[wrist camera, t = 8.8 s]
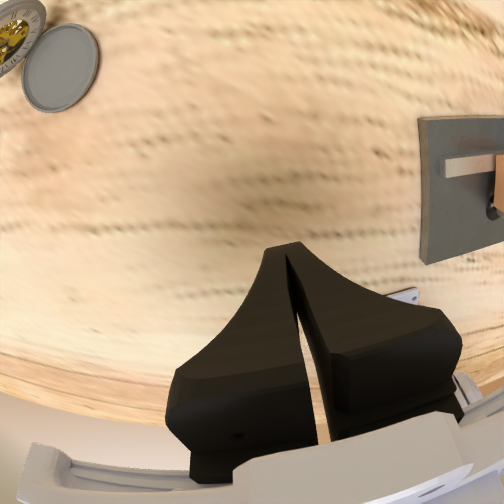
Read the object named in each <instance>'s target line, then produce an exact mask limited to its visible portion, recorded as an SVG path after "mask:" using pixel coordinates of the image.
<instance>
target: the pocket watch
mask: <svg viewBox="0 0 504 504" xmlns="http://www.w3.org/2000/svg"><path fill="white" fill-rule="evenodd" d="M17 20H22V22H21V23H20V24H19V25H18V26H17ZM45 20H46V9H45V7H44V5H43V4H42V3H41V2H40V1H39V0H9V1H7V2H4V3H3V4H1V5H0V78H1V77H2V76H3V75H5V74H6V73H8V72H9V71H10V70H11V69H13V68H14V67H15V66H16V65H17V64H18V63H19V62H20V61H21V60H22V59H23V58H25V61H24V65H23V69H22V78H21V81H22V88H23V91H24V94H25V97H26V99H27V100H28V102H29V103H30V104H31V105H32V107H34V108H35V109H37V110H38V111H41V112H45V113H54V112H60V111H62V110H64V109H67V108H69V107H70V106H72V105H74V104H75V103H76V102H77V101H78V100H80V99H81V98H82V96H83V95H84V94H85V93H86V92H87V90H88V88H89V87H90V85H91V84H92V81H93V79H94V76H95V74H96V70H97V65H98V59H99V58H98V47H97V44H96V41H95V39H94V37H93V35H92V34H91V33H90V32H89V31H88V30H87V29H85V28H84V27H82V26H80V25H78V24H72V23H71V24H61V25H58V26H55V27H52V28H51V29H49V30H48V31H46V32H45V33H43V34H42V33H41V32H42V30H43V27H44V25H45ZM11 22H13V23H12V24H11ZM8 23H9V24H10V26H8ZM15 24H16V26H17V27H15V28H14V29H12V28H13V26H14V25H15ZM7 26H8V27H7ZM19 26H21V27H22V28H21V29H18V27H19ZM3 27H4V28H3ZM16 30H19V31H18V32H17V33H16V34H15V31H16ZM5 31H6V32H5ZM7 31H8V32H7ZM20 31H21V32H20ZM19 32H20V33H19ZM14 34H15V35H14ZM6 46H7V48H6V51H5V52H2V49H4V48H5V47H6ZM2 47H3V48H2ZM1 53H2V54H1Z"/></svg>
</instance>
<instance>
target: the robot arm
mask: <svg viewBox="0 0 504 504" xmlns="http://www.w3.org/2000/svg"><path fill="white" fill-rule="evenodd" d="M414 296H415V297H414ZM413 297H414V298H413ZM418 298H419V291H418V289H417V288H412V289H409V290H405V291H402V292H399V293H395V294H392V295H388V296H384V295H381V294H378V293H376V292H373V291H371V290H369V289H366V288H364V287H362V286H360V285H358V284H356V283H354V282H352V281H350V280H348V279H347V278H345V277H343V276H342V275H340V274H339V273H337V272H336V271H334V270H333V269H332V268H330V267H329V266H328V265H326V264H325V263H324V262H322V261H321V260H320V259H319V258H318V257H316V256H315V255H314V254H313V253H312V252H311V251H310V250H308V249H307V248H306V247H305V246H304V245H303V244H302V243H301V242H299V241H298V242H294V243H289V244H285V245H280V246H276V247H271V248H267V249H266V250H265V251H264V255H263V259H262V263H261V266H260V269H259V271H258V273H257V276H256V278H255V281H254V283H253V285H252V287H251V289H250V291H249V293H248V295H247V296H246V298H245V300H244V302H243V303H242V305H241V306H240V308H239V309H238V311H237V312H236V314H235V315H234V316H233V318H232V319H231V320H230V321H229V323H228V324H227V325H226V326H225V328H224V329H223V330H222V331H221V332H220V333H219V334H218V335H217V336H216V337H215V338H214V339H213V340H212V341H211V342H210V343H209V344H208V345H207V346H206V347H204V348H203V349H202V350H201V351H200V352H199V353H197V354H196V355H195V356H193V357H192V358H191V359H189V360H188V361H187V362H186V363H184V364H183V365H182V366H180V367H179V368H177V369H176V371H175V374H174V378H173V380H172V383H171V387H170V391H169V396H168V402H167V408H166V414H165V421H166V425H167V427H168V428H169V430H170V431H171V432H172V433H173V434H174V435H175V436H176V437H177V438H178V439H179V440H180V441H181V442H182V443H183V444H184V445H185V446H186V447H187V448H188V449H189V450H190V451H191V457H190V471H181V470H180V471H179V470H151V469H138V468H126V467H117V466H110V465H102V464H96V463H89V462H84V461H78V460H73V459H71V458H70V457H69V456H68V455H67V454H65V453H64V452H62V451H61V450H59V449H57V448H55V447H52V446H48V445H43V444H39V443H35V442H34V443H32V444H31V447H30V450H29V453H28V456H27V459H26V463H25V466H24V469H23V472H22V476H21V479H20V482H19V486H18V490H17V494H16V499H17V500H19V501H20V502H22V503H24V504H504V488H503V485H502V482H501V480H500V476H501V475H503V474H504V386H503V387H501V388H500V389H498V390H496V391H494V392H492V393H491V394H489V395H487V396H485V397H483V396H482V394H481V392H480V391H479V389H478V387H477V385H476V383H475V382H474V380H473V379H472V377H471V376H470V375H469V374H468V373H467V372H463V371H462V372H461V371H460V370H457V371H456V372H455V373H453V372H454V370H455V368H456V365H457V363H458V360H459V357H460V355H461V350H462V346H463V344H462V338H461V336H460V335H459V333H458V332H457V330H456V329H455V327H454V326H453V324H452V323H451V322H450V320H449V319H448V318H447V317H446V316H445V315H444V313H443V312H442V311H441V310H440V309H436V308H430V307H425V306H420V305H418ZM297 314H298V317H299V319H300V322H301V325H302V328H303V331H304V334H305V336H306V339H307V342H308V345H309V348H310V351H311V354H312V357H313V360H314V363H315V367H316V371H317V376H318V380H319V385H320V390H321V394H322V399H323V404H324V409H325V413H326V418H327V423H328V428H329V434H330V439H331V442H330V443H326V444H322V445H319V444H318V438H317V430H316V424H315V417H314V411H313V405H312V399H311V393H310V387H309V381H308V376H307V372H306V367H305V362H304V358H303V354H302V350H301V345H300V338H299V328H298V319H297ZM452 375H453V377H454V379H455V380H454V379H453V377H452Z"/></svg>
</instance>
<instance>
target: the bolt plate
mask: <svg viewBox="0 0 504 504" xmlns="http://www.w3.org/2000/svg"><path fill="white" fill-rule="evenodd" d="M418 127H419V138H420V152H421V174H422V224H421V246H420V259H421V260H422V261H423V262H424V264H425V265H429V264H432V263H436V262H439V261H442V260H446V259H449V258H452V257H456V256H459V255H462V254H465V253H469V252H472V251H475V250H478V249H481V248H484V247H487V246H490V245H493V244H496V243H499V242H502V241H504V218H502V217H501V216H500V215H498V214H497V208H496V207H494V206H493V204H494V193H495V179H496V155H501V154H504V116H446V117H428V118H418Z"/></svg>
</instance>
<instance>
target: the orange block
mask: <svg viewBox="0 0 504 504" xmlns="http://www.w3.org/2000/svg"><path fill="white" fill-rule="evenodd" d="M493 206H494V207H496V208H497V214H498V215H500V216H501V217H502V218H504V154H501V155H496V179H495V193H494V204H493Z"/></svg>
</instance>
